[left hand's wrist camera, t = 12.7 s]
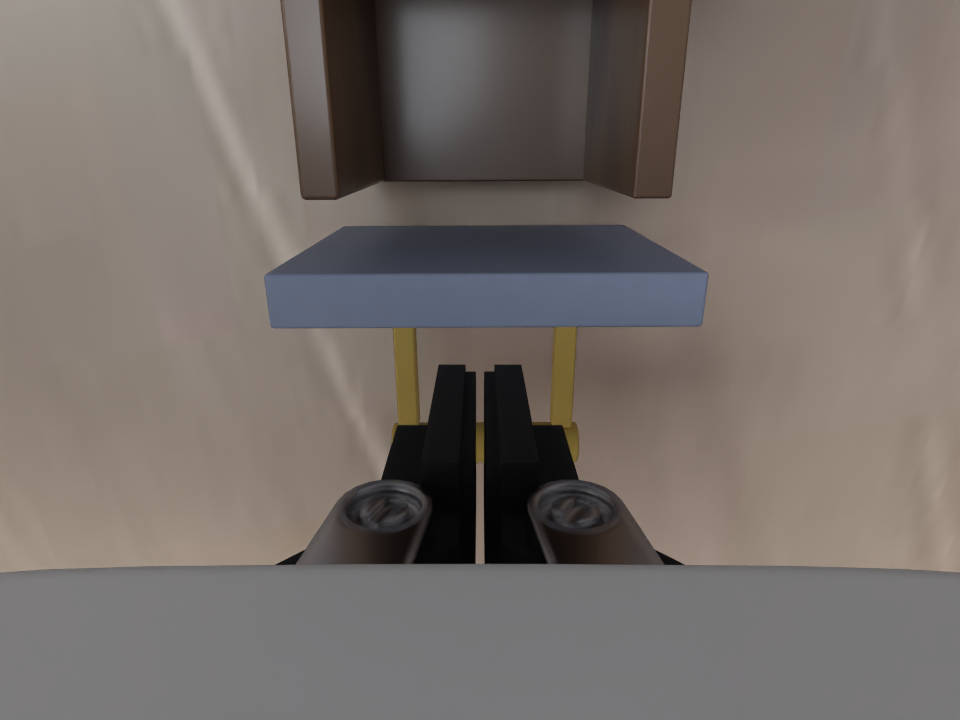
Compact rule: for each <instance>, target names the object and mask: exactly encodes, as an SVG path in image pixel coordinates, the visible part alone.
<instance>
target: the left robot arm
mask: <svg viewBox="0 0 960 720" xmlns="http://www.w3.org/2000/svg"><path fill="white" fill-rule="evenodd" d="M475 553H476V372H466V368H465V365H439V366H438V372H437V377H436V382H435V388H434V393H433V398H432V404H431V409H430V414H429V420H428V425H398V426H397V428H396V431H395V435H394V438H393V441H392V445H391V448H390V452H389V455H388V458H387V462H386V465H385V469H384V472H383V475H382V479H381V480H379V481H373V482H368V483H365V484H363V485H360V486H357V487H355V488H353V489H351V490H350V491H348V492H346V493H345V494H344V495H343V496H342V497H341V498H340V499H339V500H338V501H337V503H336V504H335V506H334V507H333V509H332V510H331V512H330V513H329V515H328V516H327V518H326V519H325V521H324V522H323V524H322V525H321V527H320V528H319V530H318V531H317V533H316V534H315V536H314V537H313V539H312V540H311V542H310V543H309V545H308V547H307V548H306V550H304V551H302V552H300V553H298V554H296V555H294V556H292V557H290V558H288V559H286V560H284V561H282V562H280V563H278V564H276V565H243V566H150V567H115V568H83V569H50V570H33V571H19V572H5V573H0V720H960V573H957V572H941V571H925V570H909V569H880V568H842V567H805V566H720V565H684V564H682V563H680V562H678V561H676V560H674V559H672V558H670V557H668V556H666V555H664V554H662V553H660V552H658V551H656V550H654V548H653V547H652V545H651V543H650V542H649V540H648V539H647V537H646V536H645V534H644V533H643V531H642V530H641V528H640V527H639V525H638V524H637V522H636V521H635V519H634V518H633V516H632V515H631V513H630V512H629V510H628V509H627V507H626V506H625V504H624V503H623V501H622V500H621V499H620V498H619V497H618V496H617V495H616V494H615V493H614V492H612V491H610V490H609V489H607V488H605V487H603V486H600V485H597V484H595V483H592V482H587V481H581V480H579V479H578V475H577V472H576V469H575V465H574V462H573V458H572V455H571V452H570V448H569V445H568V441H567V438H566V435H565V431H564V428H563V426H562V425H532V420H531V414H530V409H529V404H528V398H527V393H526V388H525V382H524V377H523V372H522V366H521V365H495V368H494V372H484V553H485V564H475Z"/></svg>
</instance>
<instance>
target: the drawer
mask: <svg viewBox="0 0 960 720" xmlns="http://www.w3.org/2000/svg"><path fill="white" fill-rule="evenodd" d="M280 1H281V10H282V20H283V29H284V39H285V48H286V58H287V67H288V77H289V86H290V96H291V105H292V115H293V124H294V134H295V143H296V153H297V162H298V172H299V181H300V191H301V196H302V198H303V199H305V200H336V199H339V198H341V197H344V196H347V195H349V194H352V193H354V192H357V191H359V190H362V189H364V188H367V187H370V186H372V185H375V184H377V183H380V182H383V181H588V182H590V183H593V184H596V185H599V186H602V187H604V188H607V189H610V190H613V191H616V192H619V193H621V194H624V195H627V196H630V197H633V198H670V197H671V195H672V186H673V176H674V166H675V157H676V147H677V137H678V128H679V118H680V109H681V99H682V89H683V80H684V70H685V60H686V51H687V41H688V31H689V22H690V12H691V2H692V0H280ZM264 279H265V287H266V295H267V302H268V310H269V317H270V325H271V327H272V328H393V337H394V354H395V371H396V389H397V406H398V423H395V424H394V426H393V431H392V441H393V438H394V435H395V431H396V428H397V426H398V425H428V423H419V422H420V407H419V384H418V361H417V338H416V328H462V327H554V333H553V358H552V383H551V408H550V420H551V422H532V425H562V426H563V428H564V431H565V435H566V438H567V441H568V445H569V448H570V452H571V455H572V458H573V462H576V461H577V459H578V454H579V434H578V428H577V425H576V423H575V422H572V411H573V392H574V374H575V356H576V337H577V327H683V326H701V325H702V321H703V314H704V306H705V298H706V291H707V283H708V273H707V272H705V271H704V270H702V269H700V268H698V267H697V266H695V265H693V264H691V263H690V262H688V261H686V260H684V259H683V258H681V257H679V256H677V255H676V254H674V253H672V252H670V251H669V250H667V249H665V248H663V247H661V246H660V245H658V244H656V243H654V242H653V241H651V240H649V239H647V238H646V237H644V236H642V235H640V234H639V233H637V232H635V231H633V230H632V229H630V228H628V227H626V226H624V225H528V226H344V227H342V228H341V229H339V230H337V231H336V232H334V233H332V234H331V235H329V236H328V237H326V238H324V239H323V240H321V241H319V242H318V243H316V244H315V245H313V246H311V247H310V248H308V249H306V250H305V251H303V252H301V253H300V254H298V255H297V256H295V257H293V258H292V259H290V260H288V261H287V262H285V263H284V264H282V265H280V266H279V267H277V268H275V269H274V270H272V271H270V272H269V273H267V274H266V275H265V277H264ZM476 462H484V422H476Z"/></svg>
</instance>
